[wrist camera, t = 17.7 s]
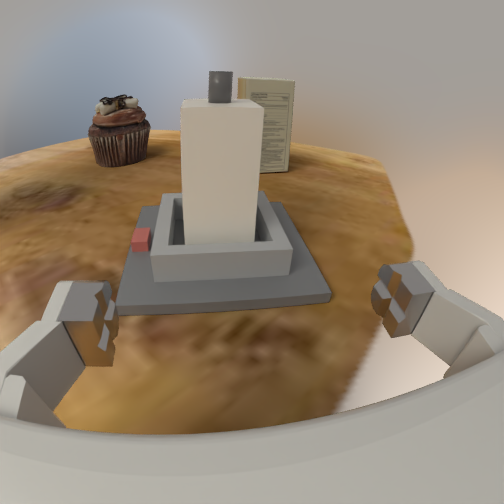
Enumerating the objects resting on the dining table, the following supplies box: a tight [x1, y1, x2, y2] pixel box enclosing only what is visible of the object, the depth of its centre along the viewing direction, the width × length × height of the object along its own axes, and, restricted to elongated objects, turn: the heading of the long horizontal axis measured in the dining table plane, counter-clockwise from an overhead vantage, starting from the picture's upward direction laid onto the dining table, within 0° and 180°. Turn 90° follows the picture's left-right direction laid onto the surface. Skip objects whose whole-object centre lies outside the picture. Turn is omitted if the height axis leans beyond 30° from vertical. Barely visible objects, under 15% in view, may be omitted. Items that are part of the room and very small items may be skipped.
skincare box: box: [237, 77, 295, 173], centre depth 36 cm, size 6×4×12 cm
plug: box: [181, 71, 264, 245], centre depth 19 cm, size 5×4×12 cm
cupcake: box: [88, 95, 151, 167], centre depth 39 cm, size 10×10×10 cm
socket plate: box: [115, 191, 332, 315], centre depth 22 cm, size 13×13×3 cm
